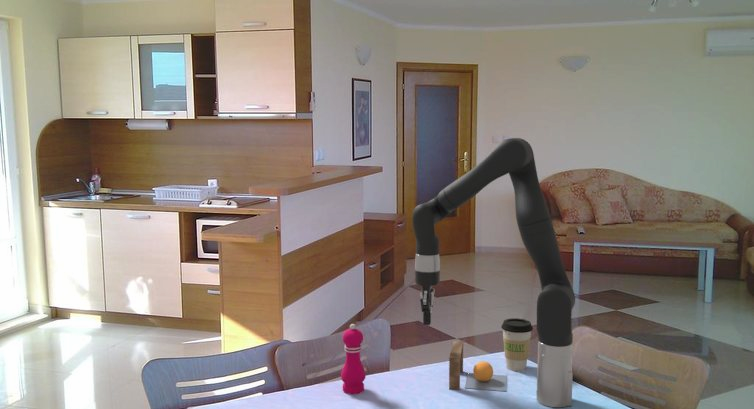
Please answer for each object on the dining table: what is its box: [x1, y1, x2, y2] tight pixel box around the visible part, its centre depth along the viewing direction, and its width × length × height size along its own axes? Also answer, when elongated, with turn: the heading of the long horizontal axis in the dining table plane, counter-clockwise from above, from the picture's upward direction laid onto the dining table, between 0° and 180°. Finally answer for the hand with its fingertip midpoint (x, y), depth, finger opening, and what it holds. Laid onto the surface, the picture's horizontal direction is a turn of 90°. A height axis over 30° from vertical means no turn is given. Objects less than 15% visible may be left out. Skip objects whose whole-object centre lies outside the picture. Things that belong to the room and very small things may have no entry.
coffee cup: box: [501, 317, 533, 372], centre depth 201 cm, size 10×10×15 cm
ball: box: [472, 360, 494, 382], centre depth 191 cm, size 6×6×6 cm
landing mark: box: [464, 372, 507, 392], centre depth 190 cm, size 12×12×1 cm
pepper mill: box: [340, 323, 367, 395], centre depth 184 cm, size 7×7×20 cm
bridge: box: [448, 340, 464, 391], centre depth 191 cm, size 3×15×10 cm, turn 168°
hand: (427, 324), depth 192 cm, fingers closed
